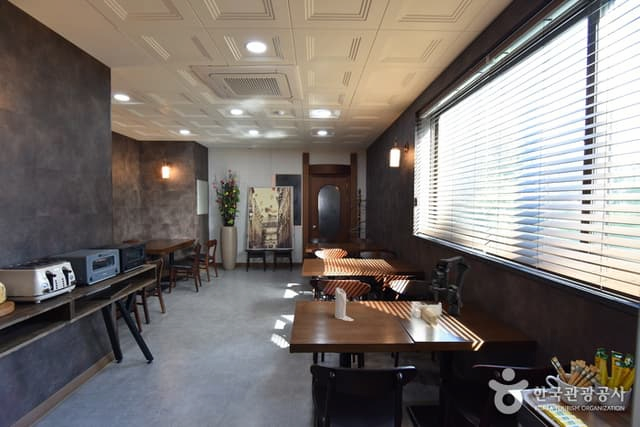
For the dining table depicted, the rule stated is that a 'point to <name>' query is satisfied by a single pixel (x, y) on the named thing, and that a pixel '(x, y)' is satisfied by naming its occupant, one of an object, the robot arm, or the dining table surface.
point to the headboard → (432, 308)
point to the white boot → (341, 305)
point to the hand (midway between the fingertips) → (442, 300)
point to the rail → (429, 316)
